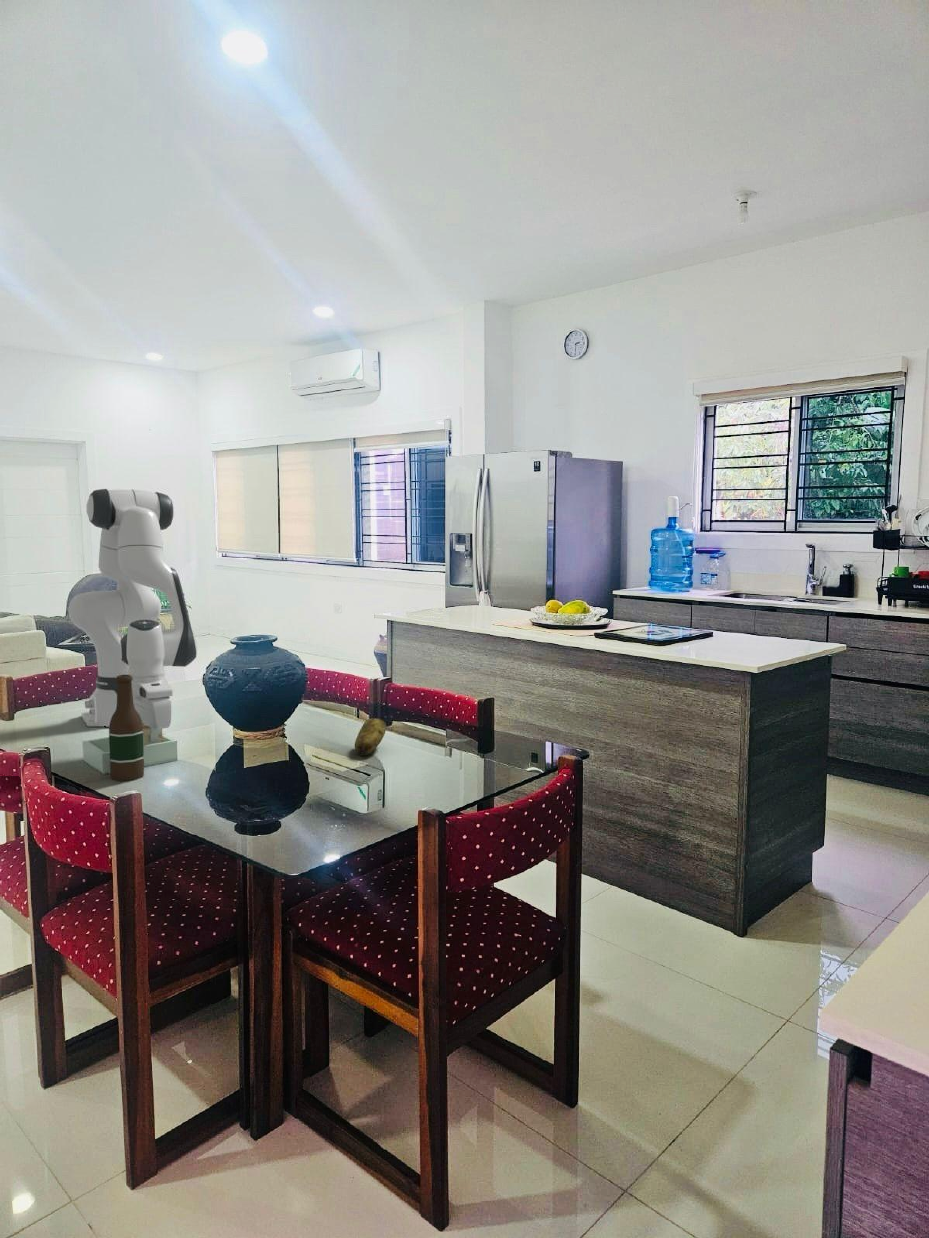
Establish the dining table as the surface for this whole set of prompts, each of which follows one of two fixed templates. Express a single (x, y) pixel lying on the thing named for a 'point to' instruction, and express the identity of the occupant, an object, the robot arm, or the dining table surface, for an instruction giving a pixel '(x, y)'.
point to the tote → (154, 754)
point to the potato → (370, 736)
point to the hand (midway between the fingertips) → (148, 739)
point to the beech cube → (147, 732)
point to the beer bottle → (126, 735)
